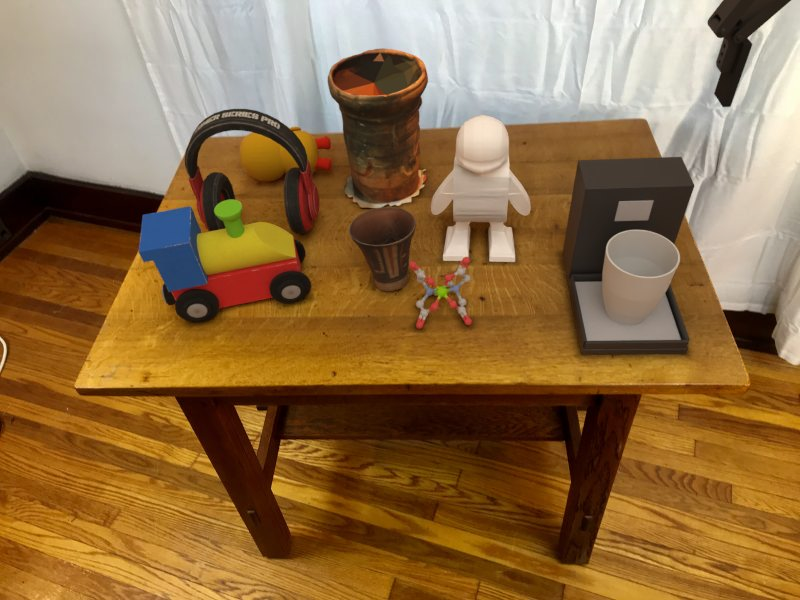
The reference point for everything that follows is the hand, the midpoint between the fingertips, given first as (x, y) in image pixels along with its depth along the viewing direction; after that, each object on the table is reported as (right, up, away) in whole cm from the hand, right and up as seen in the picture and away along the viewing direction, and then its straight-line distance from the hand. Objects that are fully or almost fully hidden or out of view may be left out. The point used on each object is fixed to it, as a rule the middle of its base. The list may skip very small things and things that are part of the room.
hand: (789, 96), depth 64 cm
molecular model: (-35, -22, +19) cm, 45 cm away
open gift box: (-11, -21, +18) cm, 30 cm away
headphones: (-61, -10, +33) cm, 70 cm away
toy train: (-62, -20, +24) cm, 70 cm away
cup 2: (-11, -22, +15) cm, 29 cm away
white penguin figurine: (-28, -12, +28) cm, 42 cm away
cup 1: (-42, -18, +24) cm, 51 cm away
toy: (-59, +1, +42) cm, 73 cm away
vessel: (-42, -2, +39) cm, 57 cm away
